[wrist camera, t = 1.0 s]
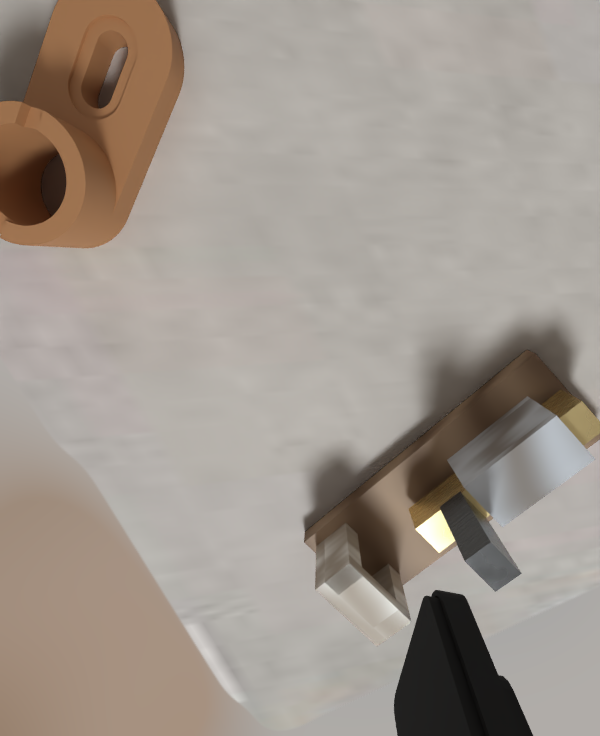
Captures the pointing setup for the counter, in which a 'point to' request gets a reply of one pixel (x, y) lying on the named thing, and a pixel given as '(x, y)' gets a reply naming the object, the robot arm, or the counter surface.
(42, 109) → the bracket
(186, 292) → the counter surface
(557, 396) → the brass bolt with handle
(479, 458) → the sliding bolt latch
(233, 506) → the counter surface
